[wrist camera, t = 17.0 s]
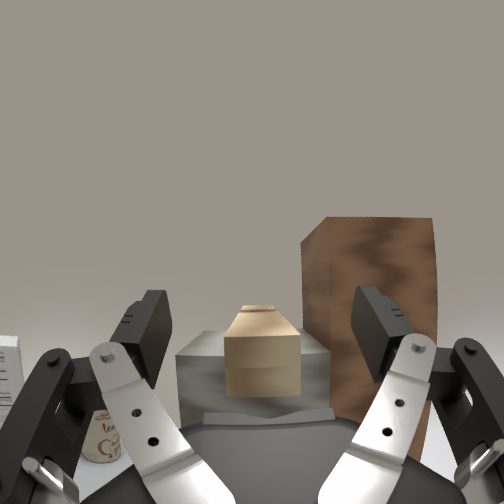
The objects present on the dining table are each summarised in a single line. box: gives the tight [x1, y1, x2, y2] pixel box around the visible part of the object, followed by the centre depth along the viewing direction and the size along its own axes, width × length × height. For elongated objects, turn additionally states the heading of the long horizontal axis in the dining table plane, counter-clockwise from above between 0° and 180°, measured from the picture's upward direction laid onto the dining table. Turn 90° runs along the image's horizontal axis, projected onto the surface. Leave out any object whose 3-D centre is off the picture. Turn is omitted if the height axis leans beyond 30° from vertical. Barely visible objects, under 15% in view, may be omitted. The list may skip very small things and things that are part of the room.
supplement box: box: [0, 336, 25, 429], centre depth 32 cm, size 10×9×17 cm
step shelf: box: [175, 217, 438, 462], centre depth 29 cm, size 22×14×31 cm, turn 89°
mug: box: [82, 410, 120, 463], centre depth 35 cm, size 8×13×10 cm, turn 56°
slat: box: [224, 305, 301, 398], centre depth 25 cm, size 4×24×3 cm, turn 0°
